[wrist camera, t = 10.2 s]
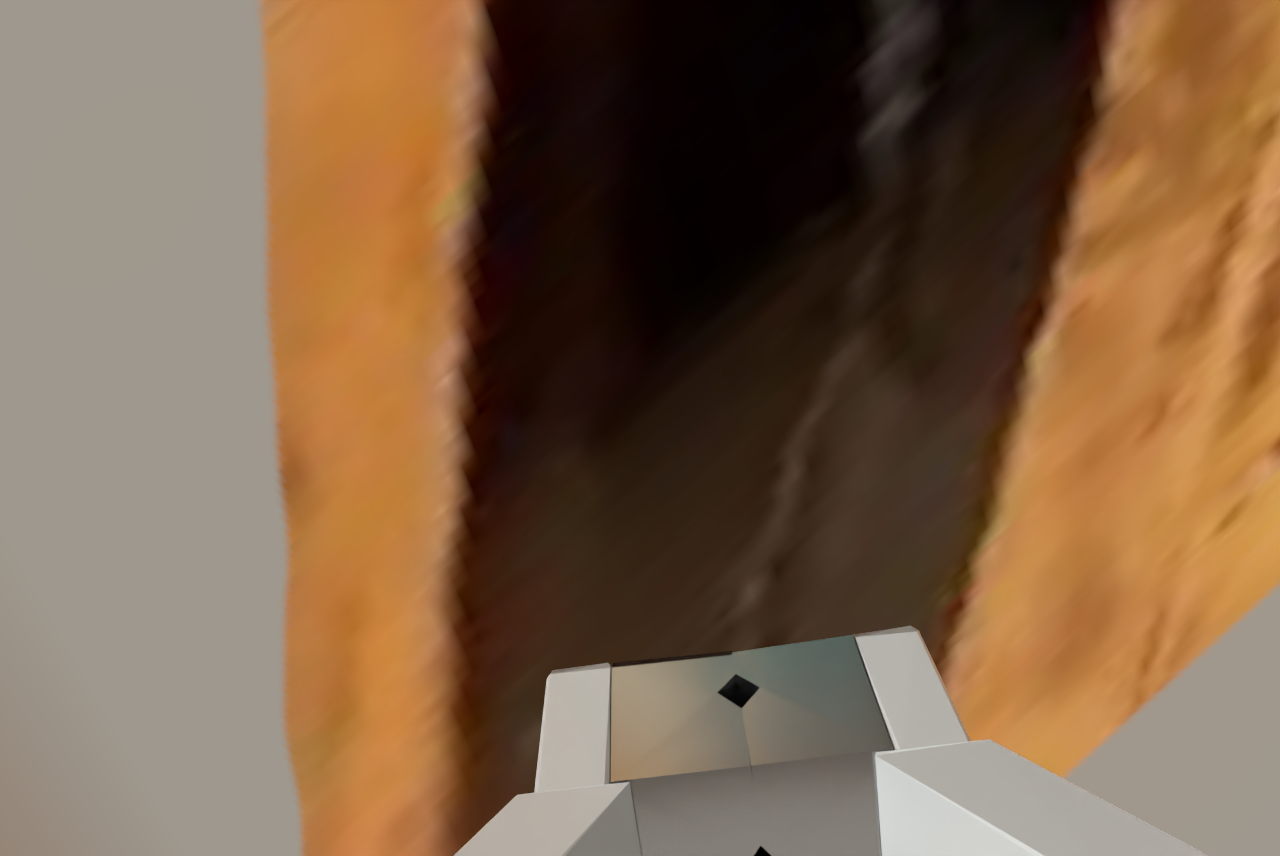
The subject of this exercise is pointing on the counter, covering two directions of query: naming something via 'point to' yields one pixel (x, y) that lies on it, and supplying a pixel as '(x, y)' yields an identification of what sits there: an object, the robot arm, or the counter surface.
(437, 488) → the counter surface
